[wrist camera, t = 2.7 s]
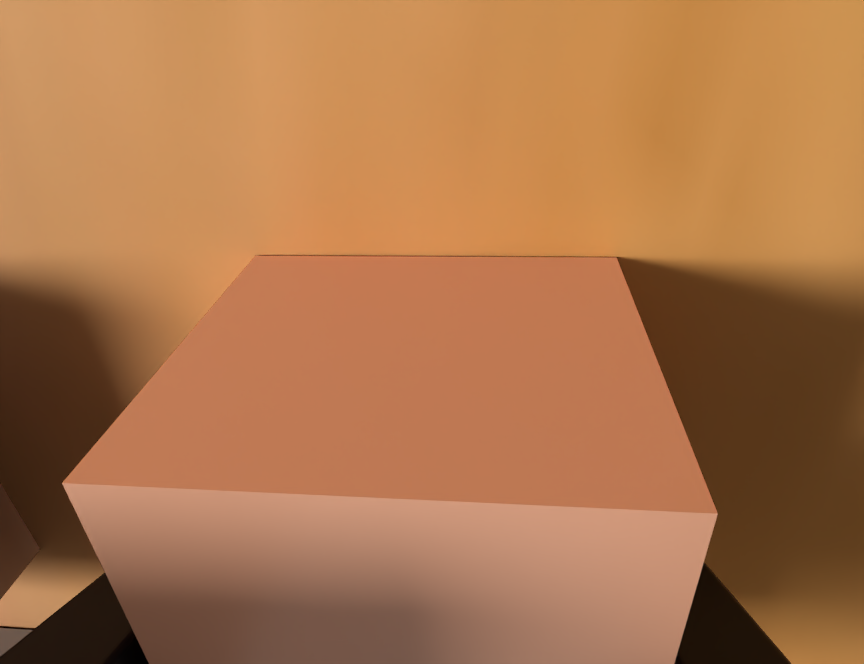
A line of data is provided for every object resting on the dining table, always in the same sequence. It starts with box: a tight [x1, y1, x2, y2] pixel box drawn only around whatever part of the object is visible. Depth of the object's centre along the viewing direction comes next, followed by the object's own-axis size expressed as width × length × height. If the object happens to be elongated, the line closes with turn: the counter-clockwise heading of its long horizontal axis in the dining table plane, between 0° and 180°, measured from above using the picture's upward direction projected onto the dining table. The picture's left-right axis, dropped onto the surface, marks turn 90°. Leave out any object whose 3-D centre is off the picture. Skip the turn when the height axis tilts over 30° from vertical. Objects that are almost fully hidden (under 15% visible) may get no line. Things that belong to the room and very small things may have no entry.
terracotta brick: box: [62, 256, 718, 664], centre depth 7 cm, size 6×4×4 cm
